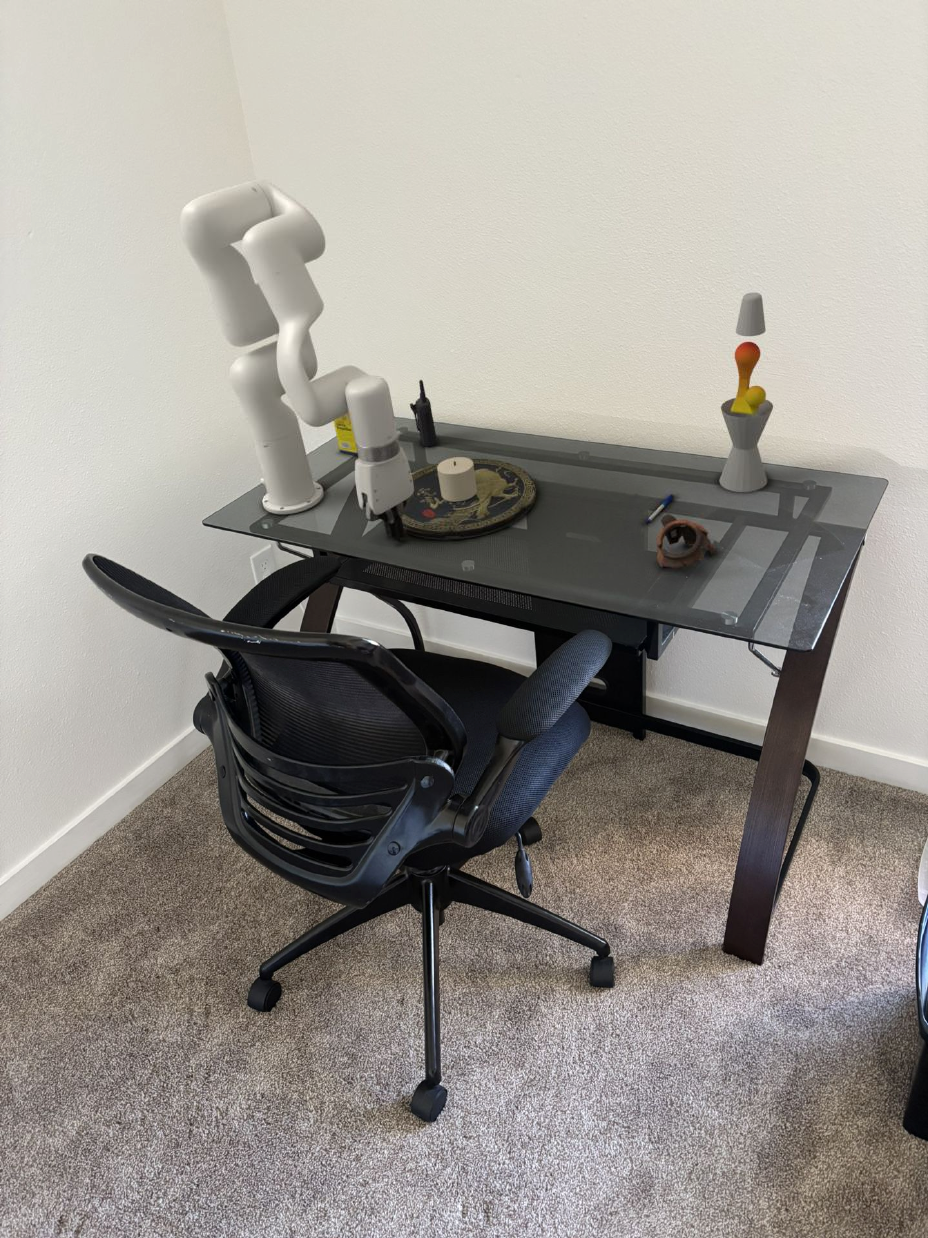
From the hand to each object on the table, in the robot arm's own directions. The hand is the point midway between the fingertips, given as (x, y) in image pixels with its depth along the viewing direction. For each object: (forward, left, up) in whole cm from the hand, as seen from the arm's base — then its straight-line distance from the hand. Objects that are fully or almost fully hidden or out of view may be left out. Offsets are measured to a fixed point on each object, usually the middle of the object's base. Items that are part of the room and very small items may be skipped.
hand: (396, 536), depth 176 cm
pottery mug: (+47, +23, -1) cm, 52 cm away
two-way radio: (-25, +32, -1) cm, 41 cm away
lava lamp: (+42, +51, -1) cm, 66 cm away
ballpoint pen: (+35, +34, -1) cm, 49 cm away
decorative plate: (0, +17, -1) cm, 17 cm away
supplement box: (-37, +22, -1) cm, 43 cm away
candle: (0, +17, +1) cm, 17 cm away
